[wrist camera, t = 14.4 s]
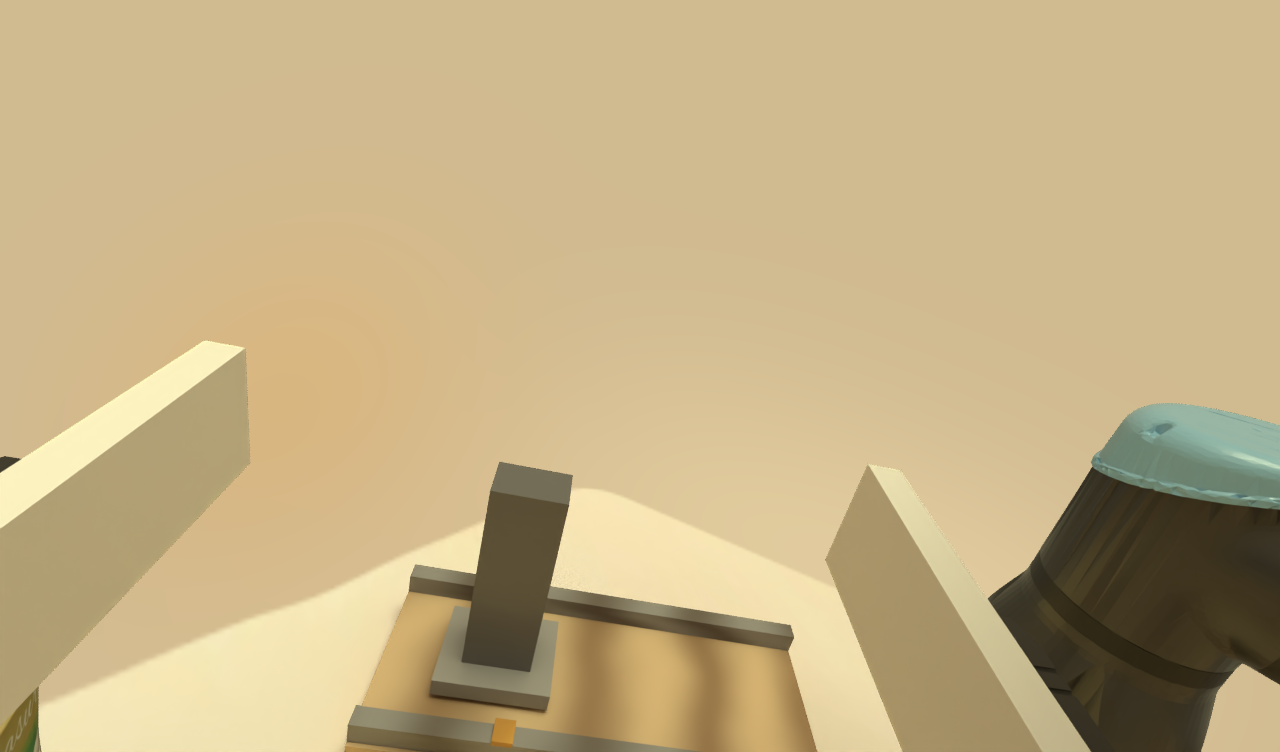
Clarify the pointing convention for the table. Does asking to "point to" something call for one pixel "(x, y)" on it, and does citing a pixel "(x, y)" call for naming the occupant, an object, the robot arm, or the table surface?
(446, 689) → the fader tab
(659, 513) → the table surface
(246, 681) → the table surface
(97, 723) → the table surface
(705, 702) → the fader console
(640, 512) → the table surface
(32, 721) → the coffee jar
